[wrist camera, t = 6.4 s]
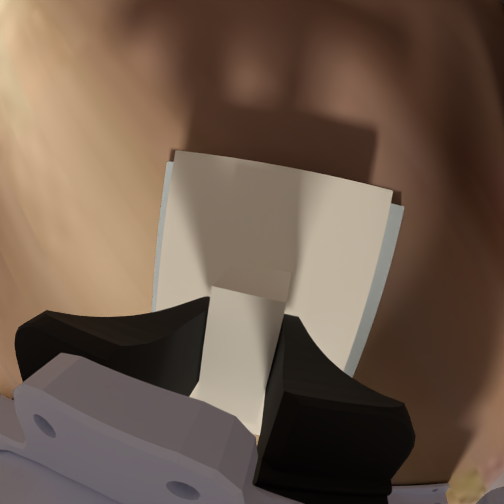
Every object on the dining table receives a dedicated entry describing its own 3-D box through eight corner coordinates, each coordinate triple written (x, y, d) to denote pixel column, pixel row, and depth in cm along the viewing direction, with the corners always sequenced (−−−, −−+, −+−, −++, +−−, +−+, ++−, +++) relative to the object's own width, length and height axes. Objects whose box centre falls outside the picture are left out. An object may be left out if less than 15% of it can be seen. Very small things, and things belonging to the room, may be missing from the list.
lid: (384, 190, 12) (425, 191, 8) (313, 429, 15) (311, 494, 10) (187, 153, 13) (133, 139, 9) (161, 391, 16) (123, 444, 11)
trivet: (401, 205, 13) (404, 206, 13) (339, 400, 16) (340, 406, 16) (171, 161, 15) (167, 161, 14) (153, 356, 17) (150, 361, 17)
